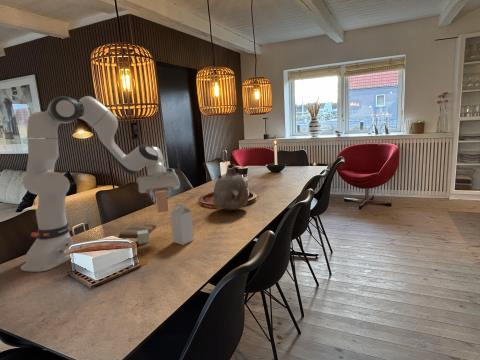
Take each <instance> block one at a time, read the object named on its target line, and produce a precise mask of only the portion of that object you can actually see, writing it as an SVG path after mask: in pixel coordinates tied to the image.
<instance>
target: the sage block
mask: <svg viewBox="0 0 480 360" xmlns="http://www.w3.org/2000/svg"><path fill="white" fill-rule="evenodd" d="M137 235H138V237H137V241H138V245H143V244H147V243H150V237H149V235H150V234H148V230H142V231H137Z"/></svg>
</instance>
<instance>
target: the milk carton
mask: <svg viewBox="0 0 480 360" xmlns="http://www.w3.org/2000/svg"><path fill="white" fill-rule="evenodd" d="M170 221H171V223H170V224H171V231H172V233H171V234H172V242H173V243H174V244H179V245H182V246H184V245H186V244H189V243H191V242H193V241H194V229H193V211H192V210H191V209H189V208H188V207H186V204H183V203H179V202H178V203H177V202H175V204H174V207H173V208H172V210H171V211H170Z"/></svg>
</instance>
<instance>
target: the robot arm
mask: <svg viewBox="0 0 480 360" xmlns="http://www.w3.org/2000/svg"><path fill="white" fill-rule="evenodd" d="M77 119H81V120H83V121H84V122H86V123H87V124H88V125H89V126H90V127H91V128H92V129H93V130H94V131H95V132H96V134H97V139H98V141H99V144H101V146H102V147H103V148H104V149H105V151H107V153H108V154H109V156H111V157H112V158H113V160H115V162H116V163H117V164H118V165H119V167H120V168H121V170H122V171H123V172H124V173H125V174H126V175H127V174H128V175H134V176H135V175H136V174H137V173H138V172H139V171H141V170H142V169H143V168H145V167H147V174H148V175H147V174H146V175H140V176H138V177H136V183H137V184H138V185H137V186H138V192H139V193H140V194H147V193H149V194H150V196H151V197H152V199H153V200H156V194H155V193H154V192H155V190H163V189H165V190H166V191H167V198H170V194H171V190H173V191H174V190H178V189H180V187H181V182H180V179H179V175H178V174H176V171H175V169H174V168H171V167H170V168H169V167H165V160H164V159H165V158H164V155H163V152H162V151H161V149H160V148H159V147H157V146H153V145H152V146H150V145H147V144H140V145H138V146H137V147H136V148H134V149H133V150H132V151H131V152H129V153H128V154H125V153H124V152H123V151H122V149H120V147H119V146H118V145H117V143H116V142H115V135H116V133H117V130H118V128H119V127H118V126H119V120H118V118H117V116H116V115H115V114H114V113H113V112H112V111H111V110H110V109H109V108H108V107H106V105H104V104H103V103H101V102H100V101H99V100H97V99H96V98H94V97H93V96H91V95H86V96H83V97H82V98H81V97H80V98H79V99H77V98H73V97H69V96H63V95H60V96H57V97H56V98H54V99H52V100H51V101H50V102H49V103H48V107H47V109H46V110H45V111H36V112H32V113H31V114H30V115H29V116H28V120H27V125H26V126H27V129H26V137H27V152H28V153H27V156H28V157H27V165H26V171H25V175H24V176H23V177H22V185H23V188H24V189H25V190H26V191H28V192H29V193H31V194H33V195H37V196H38V202H37V208H36V209H35V216H36V221H37V226H38V228H37V231H36V232H34V231H33V232H31V234H30V237H32V238H36V240H35V241H34V242H33V243H32V245H31V246H30V248H29V250H28V251H27V252H26V254H25V257H26V262H24V263H23V264H22V265H21V266H20V270H21V271H24V272H31V273H32V272H34V273H35V272H37V273H38V272H45V271H49V270H52V269H54V268H56V267H58V266H60V265H62V264H63V263H66V262H68V261H70V260H71V259H70V255H69V254H65V253H64V251H65V250H67V249H68V248H69V247H70V246H71V245H74V241H73V237H72V236H71V234H70V225H69V222H68V221H67V213H66V206H65V205H66V196H67V193H68V192H69V191H70V188H71V183H70V182H71V181H70V180H69V178H68V177H67V176H66V175H64V174H62V173H60V172H58V171H55V167H56V162H57V161H58V159H59V157H60V154H59V139H58V138H59V135H58V128H59V126H60V125H62V124H70V123H72V122H74V121H75V120H77Z"/></svg>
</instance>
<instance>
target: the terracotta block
mask: <svg viewBox="0 0 480 360" xmlns="http://www.w3.org/2000/svg"><path fill="white" fill-rule="evenodd" d="M167 193H168V190H165V189H163V190H155V193H154V194H156V199H155V204H156V212H157V213H165V212H169V204H168V203H169V202H168V197H167Z"/></svg>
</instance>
